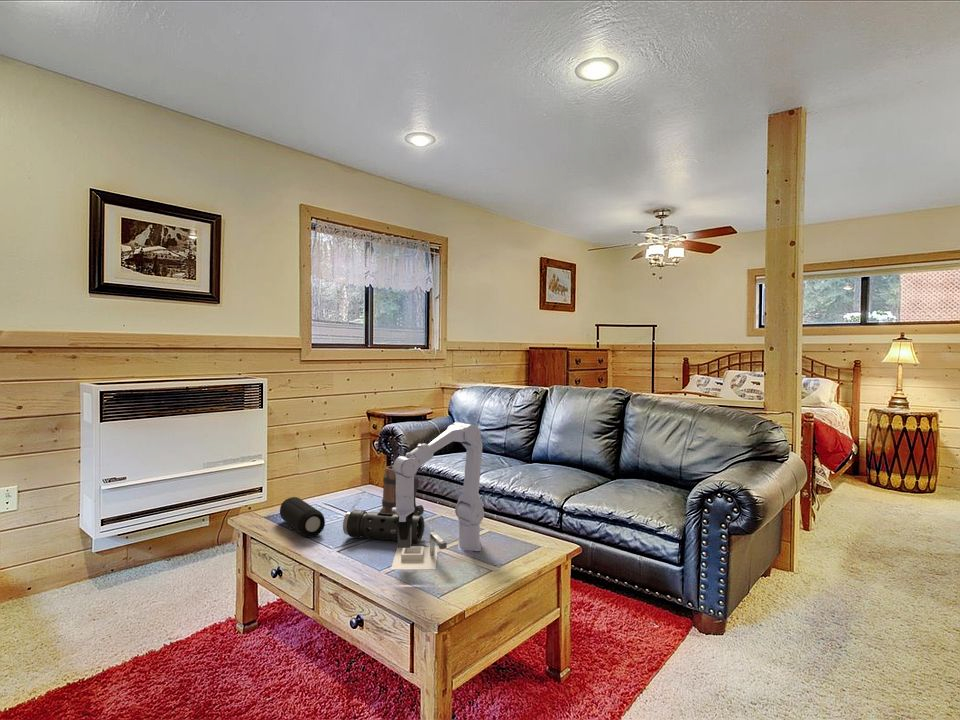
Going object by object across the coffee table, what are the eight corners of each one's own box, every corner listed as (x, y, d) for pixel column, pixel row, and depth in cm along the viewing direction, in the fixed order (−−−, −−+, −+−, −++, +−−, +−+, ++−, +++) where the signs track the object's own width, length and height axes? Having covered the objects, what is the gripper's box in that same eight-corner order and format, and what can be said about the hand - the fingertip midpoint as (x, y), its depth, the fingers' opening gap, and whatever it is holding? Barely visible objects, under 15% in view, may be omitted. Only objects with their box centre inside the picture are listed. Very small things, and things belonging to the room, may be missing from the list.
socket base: (397, 548, 181) (397, 541, 181) (437, 548, 182) (437, 541, 182) (390, 571, 163) (390, 563, 163) (435, 570, 164) (435, 562, 164)
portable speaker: (327, 535, 194) (327, 509, 194) (300, 541, 188) (300, 514, 187) (302, 517, 214) (302, 493, 214) (277, 522, 208) (277, 497, 207)
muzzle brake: (416, 549, 182) (416, 519, 181) (341, 542, 187) (341, 514, 187) (424, 539, 191) (424, 511, 191) (353, 533, 197) (353, 506, 196)
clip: (440, 568, 164) (440, 543, 163) (428, 554, 174) (428, 531, 174) (446, 567, 164) (446, 542, 164) (434, 553, 175) (434, 530, 175)
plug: (390, 543, 169) (391, 524, 169) (411, 543, 169) (411, 524, 169) (389, 547, 165) (389, 529, 165) (410, 547, 165) (410, 529, 165)
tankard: (368, 514, 218) (368, 467, 217) (400, 505, 230) (400, 460, 230) (405, 528, 202) (405, 477, 202) (437, 517, 215) (437, 469, 214)
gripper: (395, 488, 174) (394, 528, 174) (389, 501, 159) (389, 545, 159) (416, 488, 174) (416, 528, 174) (412, 501, 159) (412, 545, 160)
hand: (404, 536), depth 167 cm, fingers closed on plug, 4 cm apart
